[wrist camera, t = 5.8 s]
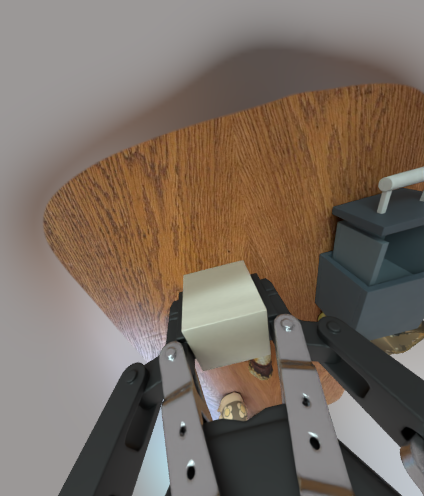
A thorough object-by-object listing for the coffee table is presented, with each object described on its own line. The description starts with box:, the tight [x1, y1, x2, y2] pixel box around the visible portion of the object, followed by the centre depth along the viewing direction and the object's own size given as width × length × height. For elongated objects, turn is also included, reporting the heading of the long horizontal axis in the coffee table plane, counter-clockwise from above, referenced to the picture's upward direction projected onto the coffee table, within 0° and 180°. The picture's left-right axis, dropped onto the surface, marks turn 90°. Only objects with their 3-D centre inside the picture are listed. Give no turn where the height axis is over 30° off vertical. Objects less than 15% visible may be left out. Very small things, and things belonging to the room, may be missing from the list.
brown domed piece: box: [217, 392, 248, 421], centre depth 57 cm, size 10×11×15 cm
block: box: [181, 260, 271, 371], centre depth 11 cm, size 4×4×4 cm
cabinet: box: [315, 251, 424, 341], centre depth 31 cm, size 13×12×10 cm
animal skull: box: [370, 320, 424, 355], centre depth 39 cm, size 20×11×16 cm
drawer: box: [332, 167, 424, 286], centre depth 24 cm, size 16×11×8 cm, turn 14°
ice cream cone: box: [249, 348, 273, 380], centre depth 42 cm, size 6×6×15 cm
